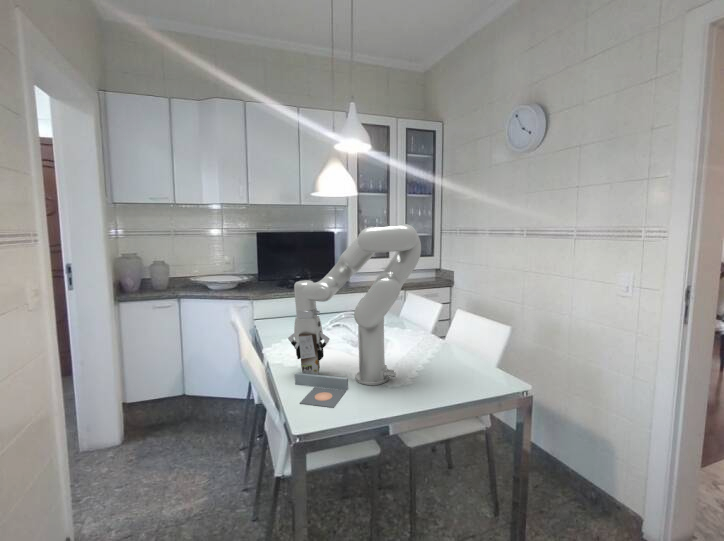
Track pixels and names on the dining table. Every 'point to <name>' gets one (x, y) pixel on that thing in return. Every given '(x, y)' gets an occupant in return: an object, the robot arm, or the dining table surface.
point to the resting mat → (323, 397)
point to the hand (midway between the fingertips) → (310, 358)
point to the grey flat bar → (321, 381)
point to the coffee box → (309, 354)
